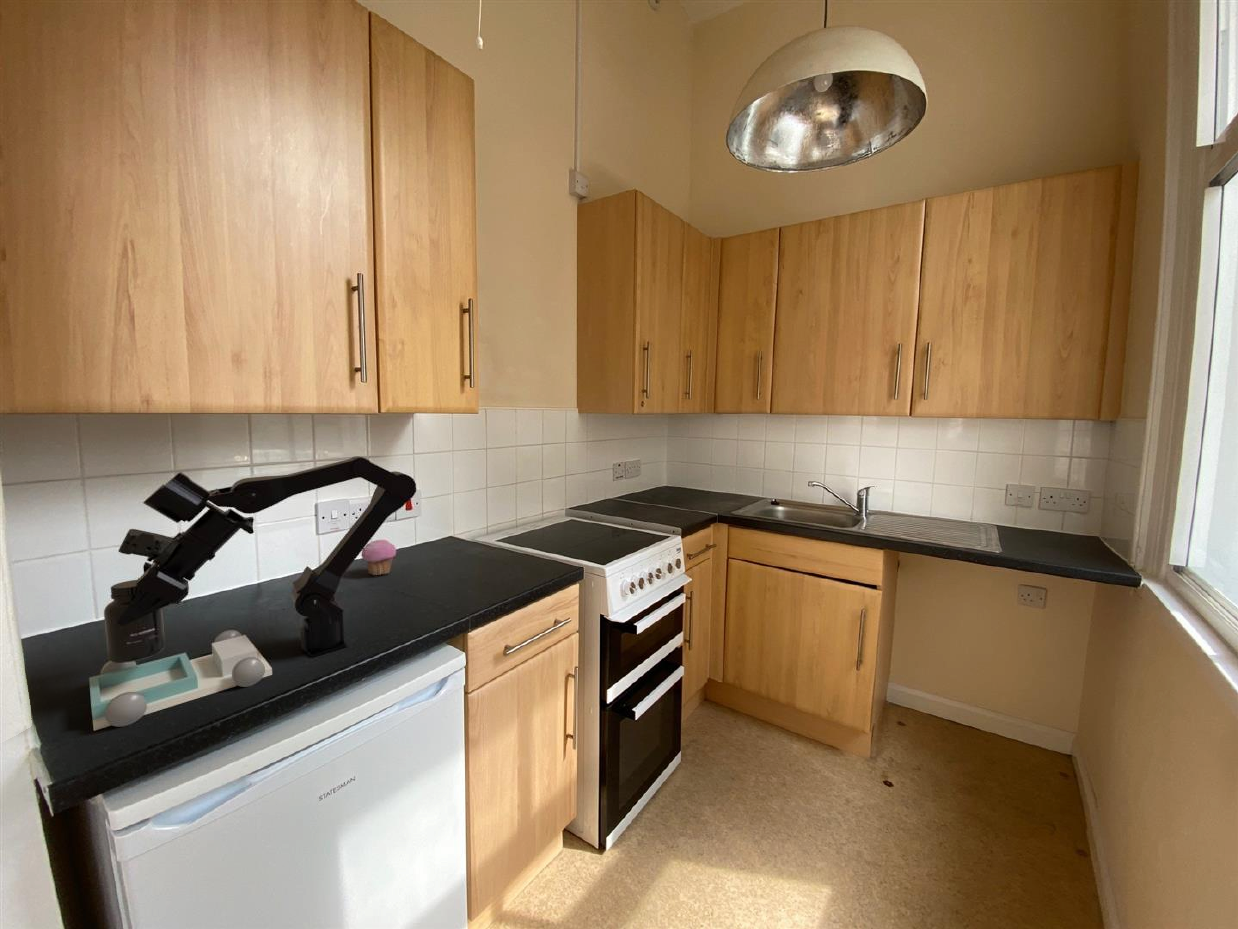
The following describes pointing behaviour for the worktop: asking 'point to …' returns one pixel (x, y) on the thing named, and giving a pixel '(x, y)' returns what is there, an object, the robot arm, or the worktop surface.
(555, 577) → the worktop surface
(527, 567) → the worktop surface
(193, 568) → the robot arm
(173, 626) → the worktop surface
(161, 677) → the chassis
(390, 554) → the cupcake
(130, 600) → the supplement bottle
